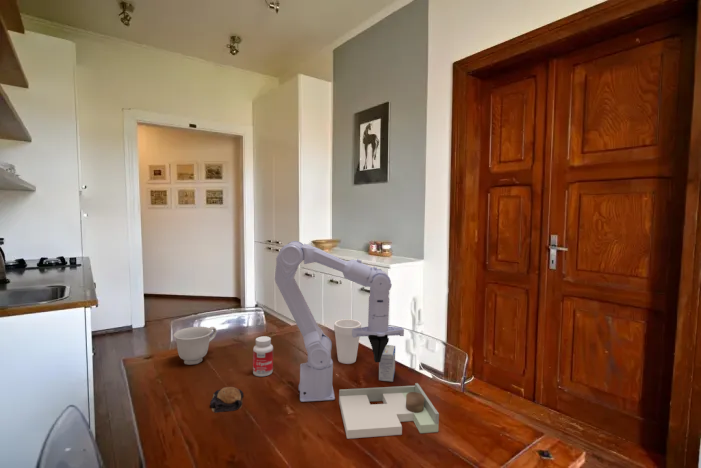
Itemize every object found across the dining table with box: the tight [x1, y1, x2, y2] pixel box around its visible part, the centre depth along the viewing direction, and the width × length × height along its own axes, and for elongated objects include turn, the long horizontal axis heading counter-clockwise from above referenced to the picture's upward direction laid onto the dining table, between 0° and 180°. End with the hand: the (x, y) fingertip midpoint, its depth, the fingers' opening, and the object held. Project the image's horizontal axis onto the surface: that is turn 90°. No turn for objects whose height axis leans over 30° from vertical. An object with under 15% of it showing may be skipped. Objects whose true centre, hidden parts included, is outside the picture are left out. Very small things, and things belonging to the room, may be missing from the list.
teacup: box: [173, 326, 217, 366], centre depth 121 cm, size 12×15×10 cm
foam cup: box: [333, 318, 362, 365], centre depth 124 cm, size 10×9×13 cm
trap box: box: [338, 382, 440, 439], centre depth 91 cm, size 22×16×4 cm
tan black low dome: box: [209, 386, 244, 414], centre depth 96 cm, size 11×8×4 cm
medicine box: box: [378, 344, 396, 383], centre depth 113 cm, size 8×4×9 cm, turn 168°
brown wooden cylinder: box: [406, 392, 424, 413], centre depth 91 cm, size 4×4×3 cm
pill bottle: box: [252, 335, 274, 377], centre depth 113 cm, size 6×6×11 cm
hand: (377, 360), depth 101 cm, fingers closed
